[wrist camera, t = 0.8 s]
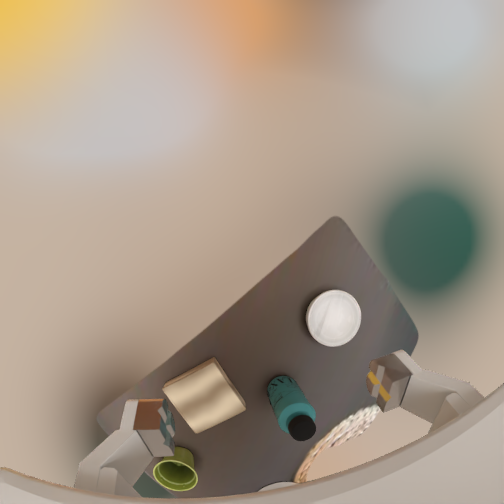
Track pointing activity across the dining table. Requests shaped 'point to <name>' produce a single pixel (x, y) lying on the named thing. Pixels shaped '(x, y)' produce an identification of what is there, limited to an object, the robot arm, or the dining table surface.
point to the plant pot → (177, 471)
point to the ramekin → (333, 318)
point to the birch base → (204, 396)
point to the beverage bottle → (291, 408)
